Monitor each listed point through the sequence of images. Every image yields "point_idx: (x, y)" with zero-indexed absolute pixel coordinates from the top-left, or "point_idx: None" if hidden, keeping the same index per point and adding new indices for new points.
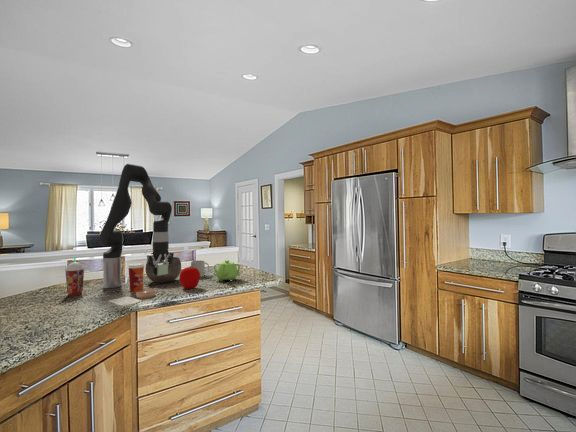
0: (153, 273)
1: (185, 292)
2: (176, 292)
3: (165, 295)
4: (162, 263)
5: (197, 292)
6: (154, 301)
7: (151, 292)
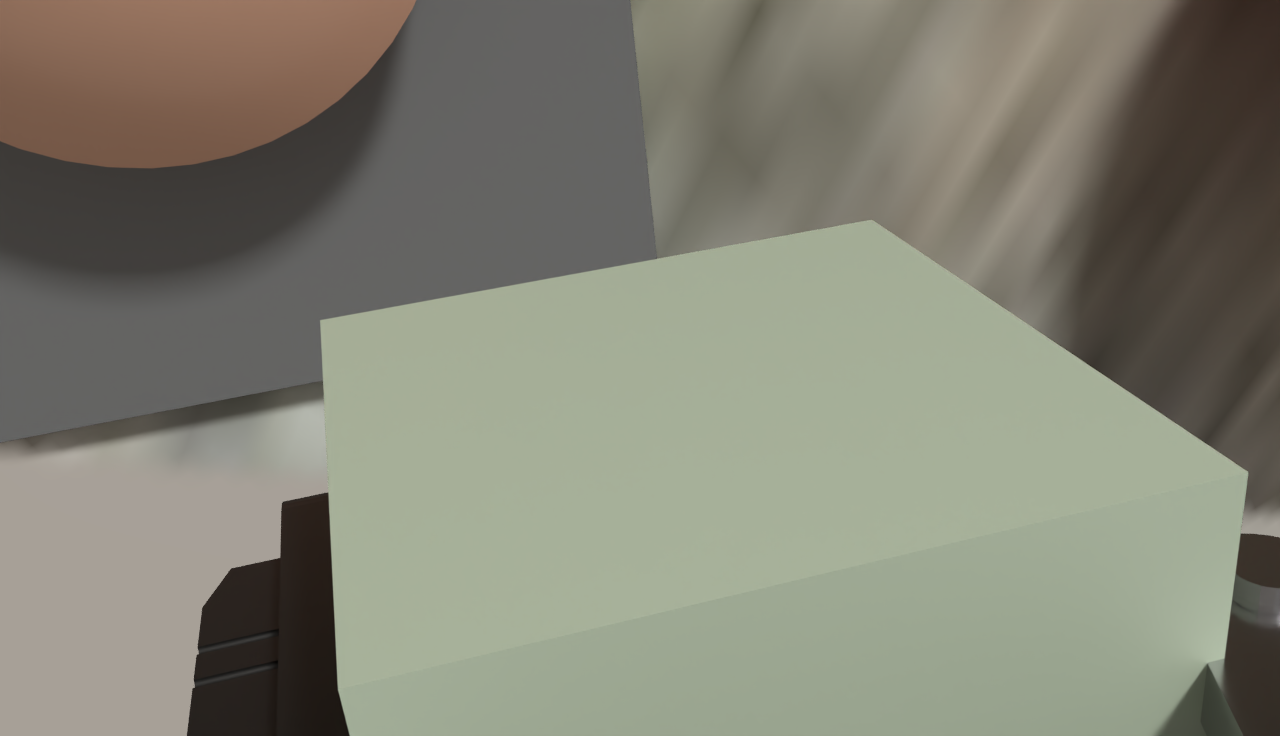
0: (233, 609)
1: (1120, 183)
2: (1002, 4)
3: (657, 91)
4: (1137, 658)
5: (1248, 378)
6: (200, 460)
7: (230, 155)
